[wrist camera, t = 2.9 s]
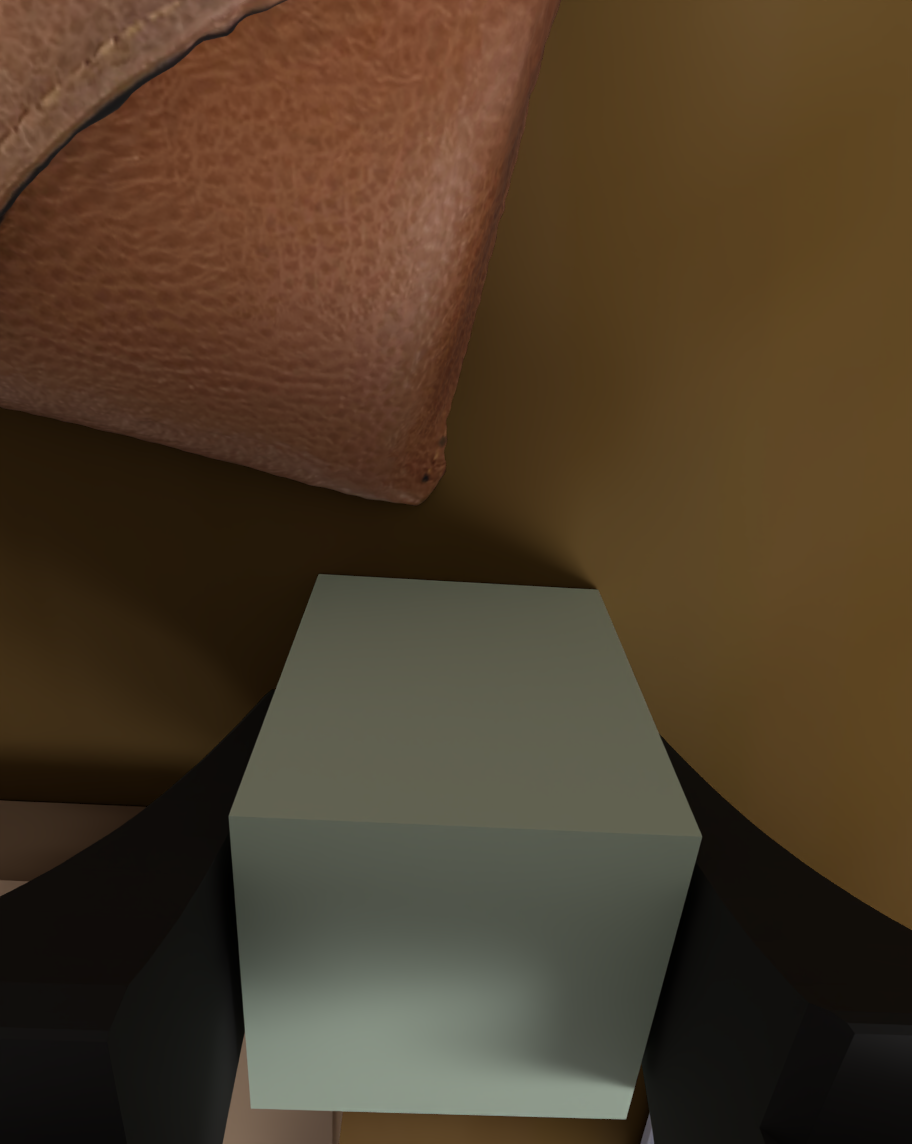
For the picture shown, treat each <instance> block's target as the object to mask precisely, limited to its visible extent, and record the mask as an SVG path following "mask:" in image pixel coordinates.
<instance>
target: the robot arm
mask: <svg viewBox="0 0 912 1144" xmlns="http://www.w3.org/2000/svg"><path fill="white" fill-rule="evenodd" d="M275 690H276V689H272V690H271V691H269V692H268V693H267V694H266V695H265V696H264V697H263V698H262V699H261V700H260V701H259V702H258V703H257V705H256V706H255V707H254V708H253V709H252V710H251V711H250V712H249V713H248V714H247V715H246V716H245V717H244V718H243V720H242V721H241V722H240V723H239V724H238V725H237V726H236V727H235V728H234V729H233V730H232V731H231V732H230V733H229V734H228V735H227V736H226V737H225V738H224V739H223V740H222V741H221V742H220V743H219V744H218V745H217V746H216V747H215V748H214V749H213V750H212V751H211V752H210V753H209V754H208V755H206V756H205V757H204V758H203V759H202V760H201V761H200V762H199V763H198V764H197V765H196V766H195V767H194V768H192V769H191V770H190V771H189V772H188V773H187V774H186V775H184V776H183V777H182V778H181V779H180V780H179V781H177V782H176V783H175V784H174V785H173V786H172V787H171V788H169V789H168V790H167V791H166V792H165V793H164V794H162V795H161V796H160V797H159V798H157V799H156V800H155V801H154V802H152V803H151V804H150V805H149V806H147V807H146V808H145V809H143V810H142V811H141V812H139V813H138V814H137V815H135V816H134V817H133V818H131V819H130V820H128V821H127V822H126V823H124V824H123V825H121V826H120V827H119V828H117V829H116V830H114V831H113V832H111V833H110V834H108V835H107V836H105V837H103V838H102V839H100V840H98V841H97V842H95V843H94V844H92V845H90V846H89V847H87V848H86V849H84V850H82V851H81V852H79V853H77V854H76V855H74V856H73V857H71V858H69V859H68V860H66V861H65V862H63V863H61V864H60V865H58V866H56V867H54V868H53V869H51V870H49V871H47V872H45V873H44V874H42V875H40V876H38V877H36V878H34V879H33V880H31V881H29V882H27V883H25V884H23V885H21V886H19V887H17V888H15V889H14V890H12V891H10V892H8V893H6V894H4V895H2V896H0V1144H223V1139H224V1134H225V1129H226V1123H227V1118H228V1113H229V1108H230V1103H231V1098H232V1093H233V1088H234V1083H235V1078H236V1073H237V1068H238V1063H239V1058H240V1053H241V1048H242V1043H243V1038H244V1034H245V1025H244V1011H243V998H242V985H241V972H240V959H239V946H238V933H237V920H236V907H235V894H234V881H233V868H232V855H231V841H230V828H229V813H230V811H231V808H232V805H233V803H234V800H235V797H236V795H237V792H238V789H239V787H240V784H241V781H242V779H243V776H244V773H245V770H246V768H247V765H248V762H249V760H250V757H251V754H252V752H253V749H254V746H255V744H256V741H257V738H258V736H259V733H260V730H261V727H262V725H263V722H264V719H265V717H266V714H267V711H268V709H269V706H270V703H271V701H272V698H273V695H274V693H275ZM659 735H660V734H659ZM660 738H661V740H662V742H663V745H664V747H665V749H666V752H667V754H668V757H669V759H670V761H671V764H672V766H673V768H674V771H675V773H676V775H677V778H678V780H679V783H680V785H681V787H682V790H683V792H684V794H685V797H686V799H687V802H688V804H689V806H690V809H691V811H692V813H693V816H694V818H695V821H696V823H697V825H698V828H699V830H700V832H701V835H702V840H701V843H700V847H699V851H698V855H697V858H696V862H695V866H694V869H693V873H692V877H691V881H690V884H689V888H688V892H687V895H686V899H685V903H684V906H683V910H682V914H681V918H680V921H679V925H678V929H677V932H676V936H675V940H674V944H673V947H672V951H671V955H670V958H669V962H668V966H667V969H666V973H665V977H664V981H663V984H662V988H661V992H660V995H659V999H658V1003H657V1007H656V1010H655V1014H654V1018H653V1021H652V1025H651V1029H650V1033H649V1036H648V1040H647V1044H646V1047H645V1051H644V1055H643V1058H642V1068H643V1075H644V1081H645V1087H646V1093H647V1100H648V1106H649V1112H650V1113H649V1116H648V1120H647V1123H646V1126H645V1130H644V1133H643V1137H642V1140H641V1144H912V930H910V929H909V928H907V927H905V926H903V925H901V924H900V923H898V922H896V921H894V920H892V919H891V918H889V917H887V916H885V915H884V914H882V913H880V912H879V911H877V910H875V909H874V908H872V907H870V906H869V905H867V904H865V903H864V902H862V901H860V900H859V899H857V898H856V897H854V896H852V895H851V894H849V893H848V892H846V891H845V890H843V889H842V888H840V887H839V886H837V885H836V884H834V883H832V882H831V881H829V880H828V879H826V878H825V877H823V876H822V875H820V874H819V873H817V872H816V871H815V870H813V869H812V868H810V867H809V866H807V865H806V864H804V863H803V862H802V861H800V860H799V859H798V858H796V857H795V856H794V855H792V854H791V853H790V852H788V851H787V850H786V849H784V848H783V847H782V846H780V845H779V844H778V843H776V842H775V841H774V840H773V839H771V838H770V837H769V836H767V835H766V834H765V833H764V832H762V831H761V830H760V829H759V828H757V827H756V826H755V825H754V824H753V823H751V822H750V821H749V820H748V819H747V818H746V817H744V816H743V815H742V814H741V813H740V812H739V811H738V810H737V809H735V808H734V807H733V806H732V805H731V804H730V803H729V802H727V801H726V800H725V799H724V798H723V797H722V796H721V795H720V794H719V793H718V792H717V791H715V790H714V789H713V788H712V787H711V786H710V785H709V784H708V783H707V782H706V781H705V780H704V779H703V778H702V777H701V776H700V775H699V774H698V773H697V772H696V771H695V770H694V769H693V768H692V767H691V766H690V765H689V764H688V763H687V762H686V761H685V760H684V759H683V758H682V757H681V756H680V755H679V754H678V753H677V752H676V751H675V750H674V749H673V748H672V747H671V746H670V745H669V744H668V743H667V742H666V741H665V739H664V738H663V737H662V736H661V735H660Z"/></svg>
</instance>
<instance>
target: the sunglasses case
mask: <svg viewBox="0 0 912 1144" xmlns="http://www.w3.org/2000/svg"><path fill="white" fill-rule="evenodd" d="M560 2H561V0H0V407H2V408H5V409H10V410H18V411H23V412H27V413H30V414H33V415H38V416H44V417H49V418H54V419H57V420H60V421H62V422H68V423H75V424H80V425H84V426H87V427H90V428H94V429H97V430H102V431H106V432H111V433H117V434H122V435H126V436H130V437H134V438H137V439H140V440H144V441H148V442H152V443H158V444H162V445H165V446H168V447H173V448H177V449H180V450H182V451H185V452H190V453H194V454H198V455H202V456H204V457H208V458H213V459H216V460H221V461H226V462H230V463H235V464H238V465H243V466H247V467H251V468H253V469H256V470H260V471H264V472H267V473H270V474H273V475H276V476H279V477H286V478H289V479H292V480H296V481H299V482H302V483H305V484H307V485H310V486H318V487H324V488H328V489H332V490H336V491H339V492H341V493H344V494H348V495H355V496H360V497H362V498H365V499H372V500H383V501H388V502H392V503H404V504H408V505H413V506H417V505H419V504H421V503H422V502H424V501H425V500H426V499H427V498H428V496H429V495H430V494H431V492H432V491H433V490H434V489H435V488H436V485H437V484H438V482H439V481H440V479H441V478H442V476H443V475H444V473H445V471H446V461H445V458H444V448H445V446H446V444H447V434H446V433H447V425H446V420H447V417H448V415H449V412H450V410H451V403H452V399H453V396H454V394H455V391H456V388H457V384H458V380H459V374H460V372H461V369H462V363H463V359H464V357H465V355H466V352H467V346H468V341H469V340H470V338H471V331H472V326H473V323H474V321H475V316H476V310H477V308H478V306H479V304H480V302H481V294H482V289H483V286H484V282H485V279H486V275H487V271H488V263H489V260H490V258H491V256H492V253H493V249H494V246H495V241H496V238H497V229H498V223H499V221H500V219H501V217H502V215H503V212H504V210H505V199H506V197H507V194H508V191H509V187H510V179H511V176H512V173H513V170H514V167H515V164H516V161H517V158H518V151H519V147H520V141H521V138H522V135H523V133H524V129H525V123H526V118H527V114H528V107H529V99H530V94H531V93H532V91H533V90H534V87H535V84H536V82H537V79H538V76H539V72H540V68H541V61H542V59H543V53H544V47H545V43H546V41H547V39H548V36H549V33H550V30H551V27H552V24H553V22H554V19H555V17H556V14H557V12H558V9H559V5H560Z"/></svg>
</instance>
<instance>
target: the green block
mask: <svg viewBox="0 0 912 1144" xmlns="http://www.w3.org/2000/svg"><path fill="white" fill-rule="evenodd" d="M229 828H230V841H231V855H232V868H233V881H234V894H235V907H236V920H237V933H238V946H239V959H240V972H241V985H242V998H243V1011H244V1025H245V1038H246V1051H247V1064H248V1077H249V1090H250V1103H251V1109H282V1110H317V1111H352V1112H387V1113H421V1114H456V1115H491V1116H526V1117H561V1118H595V1119H626V1118H627V1114H628V1110H629V1107H630V1103H631V1099H632V1096H633V1092H634V1088H635V1084H636V1081H637V1077H638V1073H639V1070H640V1066H641V1062H642V1058H643V1055H644V1051H645V1047H646V1044H647V1040H648V1036H649V1033H650V1029H651V1025H652V1021H653V1018H654V1014H655V1010H656V1007H657V1003H658V999H659V995H660V992H661V988H662V984H663V981H664V977H665V973H666V969H667V966H668V962H669V958H670V955H671V951H672V947H673V944H674V940H675V936H676V932H677V929H678V925H679V921H680V918H681V914H682V910H683V906H684V903H685V899H686V895H687V892H688V888H689V884H690V881H691V877H692V873H693V869H694V866H695V862H696V858H697V855H698V851H699V847H700V843H701V840H702V835H701V832H700V830H699V828H698V825H697V823H696V821H695V818H694V816H693V813H692V811H691V809H690V806H689V804H688V802H687V799H686V797H685V794H684V792H683V790H682V787H681V785H680V783H679V780H678V778H677V775H676V773H675V771H674V768H673V766H672V764H671V761H670V759H669V757H668V754H667V752H666V749H665V747H664V745H663V742H662V740H661V738H660V735H659V733H658V730H657V728H656V726H655V723H654V721H653V719H652V716H651V714H650V711H649V709H648V707H647V704H646V702H645V700H644V697H643V695H642V692H641V690H640V688H639V685H638V683H637V681H636V678H635V676H634V673H633V671H632V669H631V666H630V664H629V662H628V659H627V657H626V654H625V652H624V650H623V647H622V645H621V643H620V640H619V638H618V636H617V633H616V631H615V628H614V626H613V624H612V621H611V619H610V617H609V614H608V612H607V609H606V607H605V605H604V602H603V600H602V598H601V595H600V593H599V590H594V589H576V588H558V587H541V586H523V585H505V584H488V583H470V582H452V581H434V580H417V579H399V578H381V577H363V576H346V575H328V574H318V577H317V580H316V582H315V585H314V588H313V590H312V593H311V596H310V599H309V601H308V604H307V607H306V609H305V612H304V615H303V617H302V620H301V623H300V625H299V628H298V631H297V633H296V636H295V639H294V641H293V644H292V647H291V650H290V652H289V655H288V658H287V660H286V663H285V666H284V668H283V671H282V674H281V676H280V679H279V682H278V684H277V687H276V690H275V693H274V695H273V698H272V701H271V703H270V706H269V709H268V711H267V714H266V717H265V719H264V722H263V725H262V727H261V730H260V733H259V736H258V738H257V741H256V744H255V746H254V749H253V752H252V754H251V757H250V760H249V762H248V765H247V768H246V770H245V773H244V776H243V779H242V781H241V784H240V787H239V789H238V792H237V795H236V797H235V800H234V803H233V805H232V808H231V811H230V813H229Z"/></svg>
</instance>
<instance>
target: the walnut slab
mask: <svg viewBox="0 0 912 1144" xmlns="http://www.w3.org/2000/svg"><path fill="white" fill-rule="evenodd" d="M145 808H146V807H137V806H114V805H91V804H69V803H46V802H23V801H1V800H0V896H2V895H4V894H6V893H8V892H10V891H12V890H14V889H15V888H17V887H19V886H21V885H23V884H25V883H27V882H29V881H31V880H33V879H34V878H36V877H38V876H40V875H42V874H44V873H45V872H47V871H49V870H51V869H53V868H54V867H56V866H58V865H60V864H61V863H63V862H65V861H66V860H68V859H69V858H71V857H73V856H74V855H76V854H77V853H79V852H81V851H82V850H84V849H86V848H87V847H89V846H90V845H92V844H94V843H95V842H97V841H98V840H100V839H102V838H103V837H105V836H107V835H108V834H110V833H111V832H113V831H114V830H116V829H117V828H119V827H120V826H121V825H123V824H124V823H126V822H127V821H128V820H130V819H131V818H133V817H134V816H135V815H137V814H138V813H139V812H141V811H142V810H143V809H145ZM342 1113H343V1111H317V1110H282V1109H251V1103H250V1090H249V1077H248V1064H247V1051H246V1038H245V1034H244V1038H243V1043H242V1048H241V1053H240V1058H239V1063H238V1068H237V1073H236V1078H235V1083H234V1088H233V1093H232V1098H231V1103H230V1108H229V1113H228V1118H227V1123H226V1129H225V1134H224V1139H223V1144H339V1138H340V1130H341V1122H342Z"/></svg>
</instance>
